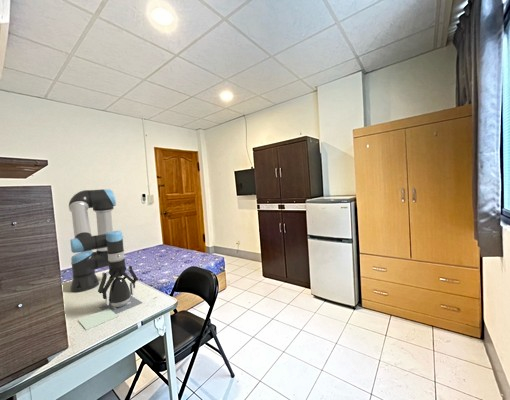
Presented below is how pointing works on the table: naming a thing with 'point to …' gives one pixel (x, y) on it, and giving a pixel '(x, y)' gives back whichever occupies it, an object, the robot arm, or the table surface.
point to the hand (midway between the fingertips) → (120, 299)
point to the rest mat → (97, 318)
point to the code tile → (117, 310)
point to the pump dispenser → (119, 292)
